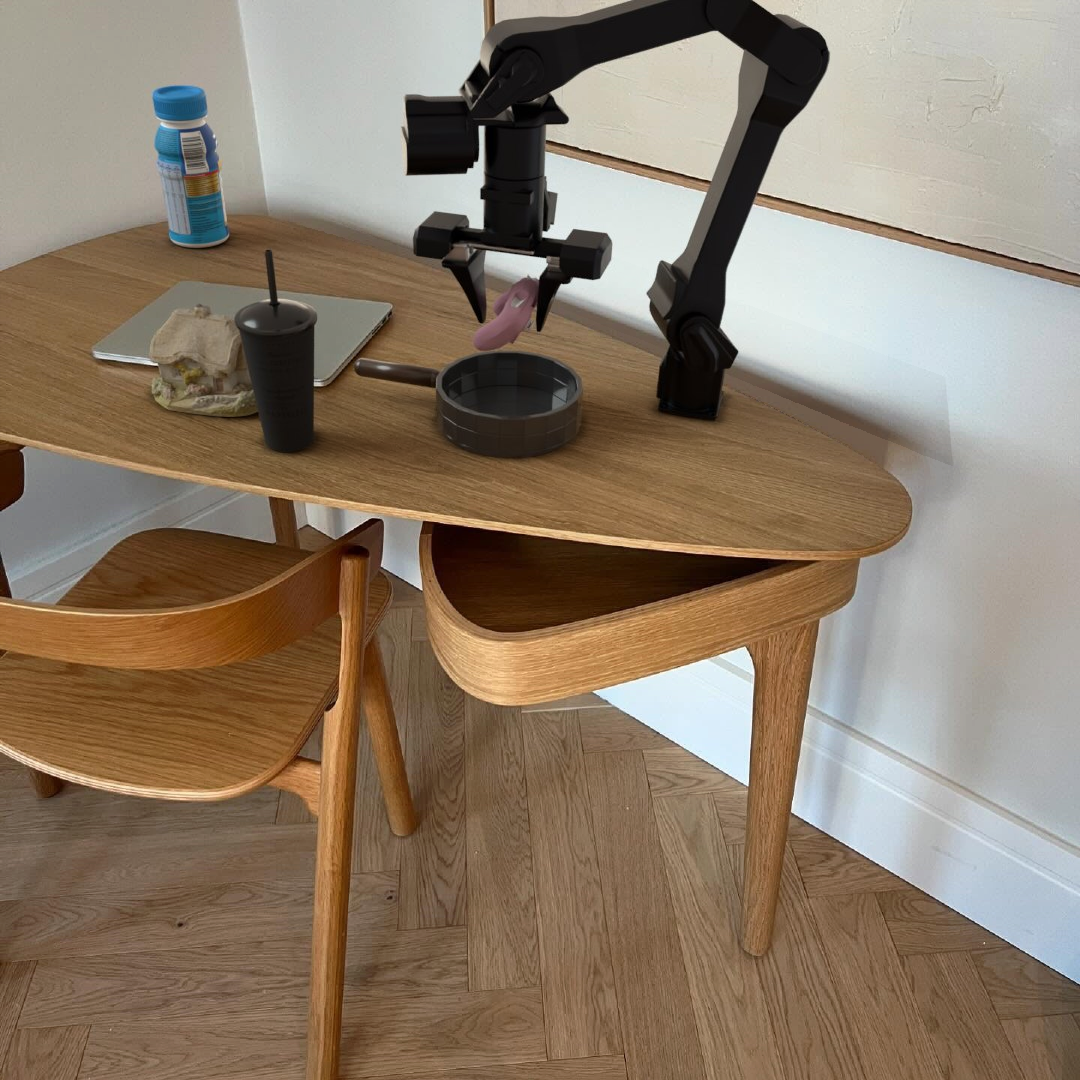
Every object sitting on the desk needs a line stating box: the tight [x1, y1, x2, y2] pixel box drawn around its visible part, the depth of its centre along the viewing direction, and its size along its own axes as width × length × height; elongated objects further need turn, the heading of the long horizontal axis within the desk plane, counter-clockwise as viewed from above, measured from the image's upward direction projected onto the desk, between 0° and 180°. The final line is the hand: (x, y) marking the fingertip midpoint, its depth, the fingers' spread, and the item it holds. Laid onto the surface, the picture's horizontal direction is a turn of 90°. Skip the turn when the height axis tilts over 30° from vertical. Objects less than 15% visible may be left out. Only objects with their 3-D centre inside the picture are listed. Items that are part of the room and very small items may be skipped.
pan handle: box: [353, 357, 441, 389], centre depth 116 cm, size 10×2×2 cm, turn 75°
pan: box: [435, 349, 584, 459], centre depth 115 cm, size 15×15×4 cm
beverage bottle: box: [151, 84, 230, 249], centre depth 149 cm, size 8×8×20 cm
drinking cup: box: [233, 249, 318, 453], centre depth 105 cm, size 8×8×20 cm
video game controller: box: [472, 274, 539, 352], centre depth 110 cm, size 10×5×7 cm, turn 168°
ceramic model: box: [148, 303, 258, 418], centre depth 116 cm, size 14×11×10 cm
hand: (511, 326), depth 111 cm, fingers closed on video game controller, 6 cm apart
